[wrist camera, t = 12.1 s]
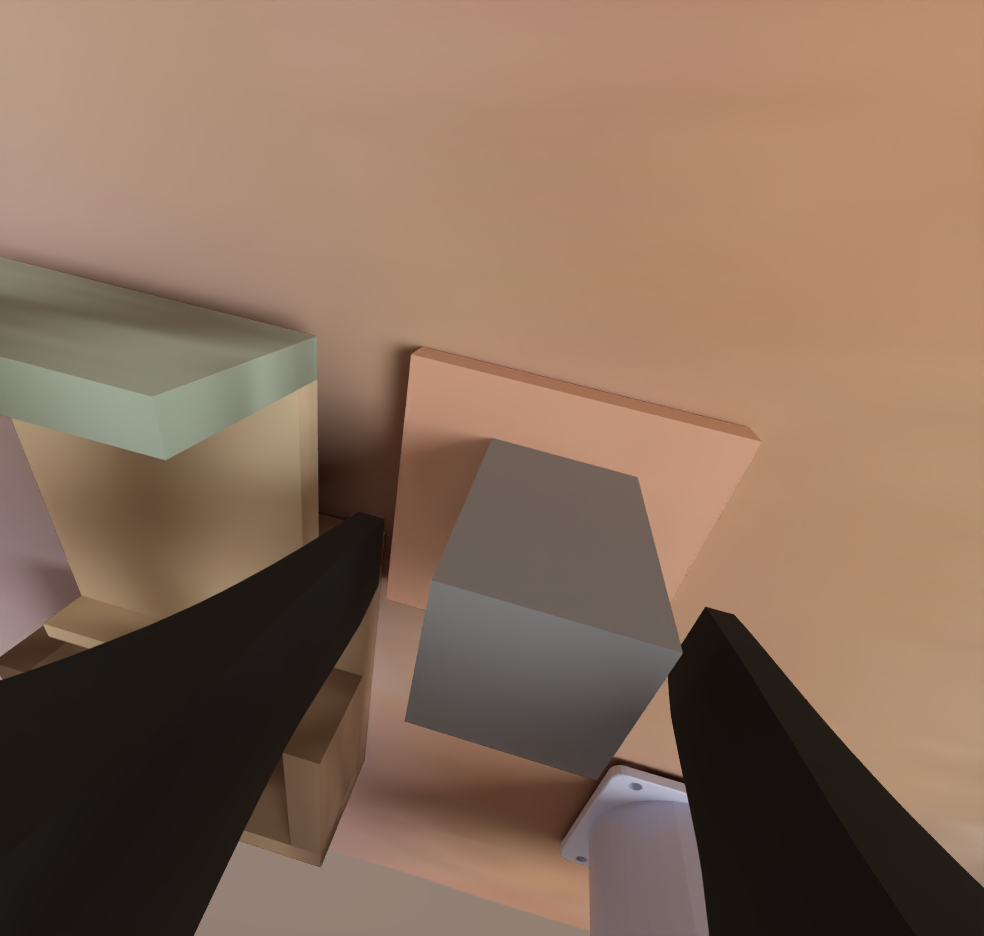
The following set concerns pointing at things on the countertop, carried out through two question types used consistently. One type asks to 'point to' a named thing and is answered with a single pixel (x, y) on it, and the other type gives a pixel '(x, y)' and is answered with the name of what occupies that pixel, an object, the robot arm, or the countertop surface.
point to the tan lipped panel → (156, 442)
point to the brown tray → (308, 755)
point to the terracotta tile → (556, 430)
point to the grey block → (545, 614)
